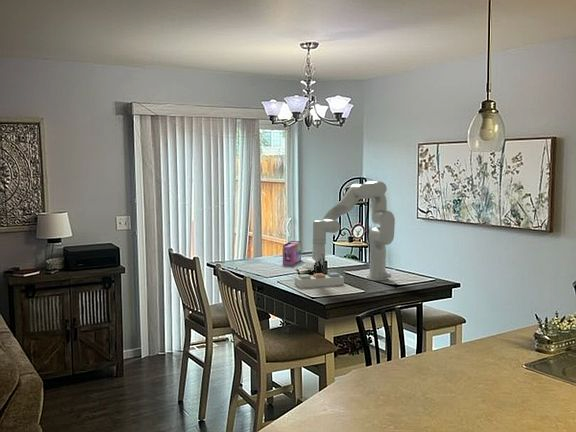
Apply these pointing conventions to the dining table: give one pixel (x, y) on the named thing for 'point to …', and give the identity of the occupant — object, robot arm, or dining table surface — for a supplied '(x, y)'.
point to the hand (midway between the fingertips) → (318, 272)
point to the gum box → (291, 252)
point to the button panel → (319, 281)
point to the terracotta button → (319, 275)
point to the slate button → (334, 274)
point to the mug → (309, 264)
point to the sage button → (305, 276)
